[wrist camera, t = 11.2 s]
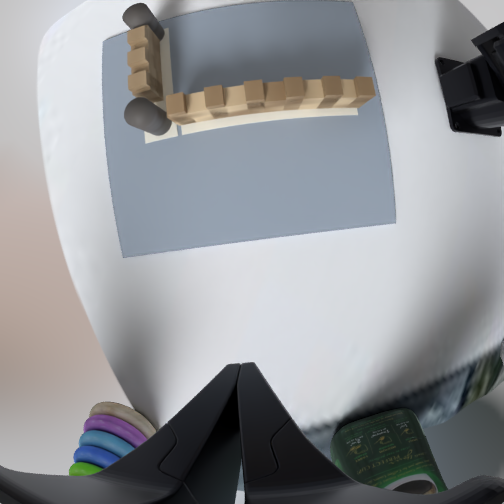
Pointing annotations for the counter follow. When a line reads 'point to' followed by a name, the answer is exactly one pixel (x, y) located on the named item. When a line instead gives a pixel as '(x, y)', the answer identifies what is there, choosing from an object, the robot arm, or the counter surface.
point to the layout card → (248, 133)
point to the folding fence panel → (269, 98)
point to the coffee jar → (388, 453)
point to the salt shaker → (502, 351)
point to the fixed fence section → (145, 71)
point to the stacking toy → (109, 437)
